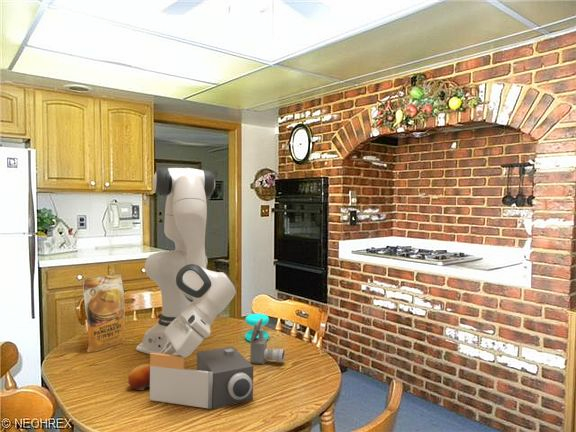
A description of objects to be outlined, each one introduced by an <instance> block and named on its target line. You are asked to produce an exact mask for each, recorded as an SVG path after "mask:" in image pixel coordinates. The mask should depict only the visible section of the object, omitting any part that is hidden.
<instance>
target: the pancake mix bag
mask: <svg viewBox="0 0 576 432" xmlns="http://www.w3.org/2000/svg"><path fill="white" fill-rule="evenodd" d="M81 285H82V296H83V300H84V310H85V315H86V319H87V333H88V335H87V336H88V345H87V346H88V347H87V352H86V353H96V352H101V351H104V350H107V349H111V348H113V347H116V346H119V345H121V344H123V342H125V340H126V339H125V323H126V322H125V318H126V317H125V316H126V313H125V312H126V308H125V307H126V305H125V299H126V297H125V289H124V282H123V275H121V274H120V273H113V274H107V275H100V276H99V275H98V276H93V277H89V278H84V280H83V281H82V284H81Z"/></svg>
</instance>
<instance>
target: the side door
mask: <svg viewBox="0 0 576 432" xmlns="http://www.w3.org/2000/svg"><path fill="white" fill-rule="evenodd" d="M149 364H150V386H149V401H154V402H162V403H169V404H174V405H175V404H176V405H184V406H189V407H197V408H203V409H209V410H212V409H213V408H212V389H213V372H208V371H200V370H197V369H190V368H186V358H183V357H182V356H181V355H167V354H159V353H151V354H149Z"/></svg>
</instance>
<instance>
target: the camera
mask: <svg viewBox="0 0 576 432" xmlns="http://www.w3.org/2000/svg"><path fill="white" fill-rule="evenodd" d="M262 320H263V319H262V318H261V319H260V320H259V321H258V322H257V323H256V324H255V326H253V329H254V330H253V333H252V337H251V340H250V341H249V343H250V362H249V363H250V364H257V365H265V363H266V362H267V360H269V361H275V362H281V363H282V362H284V360H285V353H286V352H285V349H283V348H277V349H274V348H268V347H267V346H268V344H267V341H268V339H267V340H266V339H265V338H264V328H262V326H261V324H262ZM258 334H259V338H256V337H257V336H258Z"/></svg>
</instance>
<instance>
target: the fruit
mask: <svg viewBox="0 0 576 432" xmlns="http://www.w3.org/2000/svg"><path fill="white" fill-rule="evenodd" d="M127 380H128V381H127V382H128V384H129V386H130V388H131V389H133V390H136V391H145V389H146V388H147V387H148V388H149V387H150V363H149V364H148V363H144V364H140V365H138V366H136V367H134V368H133V369H132V370H131V371H130V372H129V373H128V375H127Z"/></svg>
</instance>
